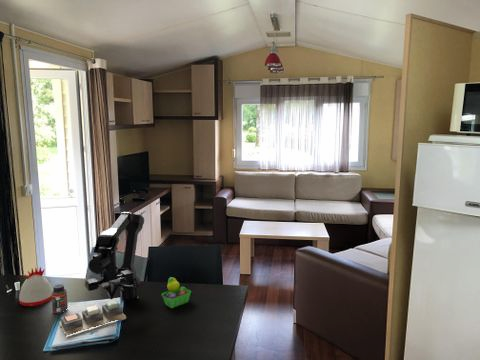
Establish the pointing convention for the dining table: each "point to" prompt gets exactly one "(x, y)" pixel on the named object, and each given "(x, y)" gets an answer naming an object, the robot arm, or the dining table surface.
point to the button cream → (92, 310)
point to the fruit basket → (175, 294)
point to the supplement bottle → (59, 299)
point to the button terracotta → (71, 318)
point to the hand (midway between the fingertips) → (111, 299)
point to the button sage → (111, 304)
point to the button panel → (92, 319)
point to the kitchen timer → (35, 289)
